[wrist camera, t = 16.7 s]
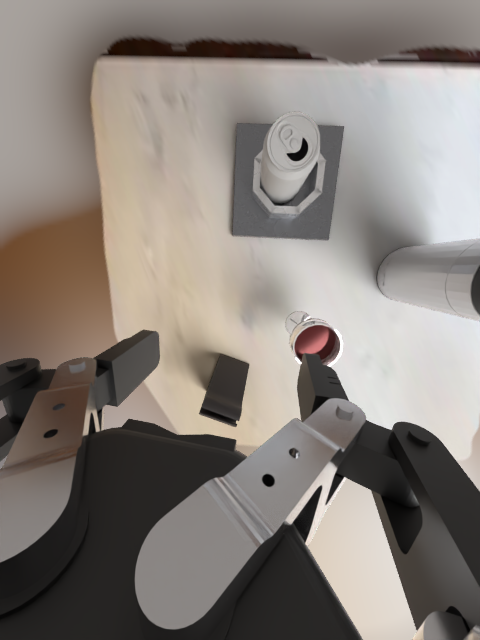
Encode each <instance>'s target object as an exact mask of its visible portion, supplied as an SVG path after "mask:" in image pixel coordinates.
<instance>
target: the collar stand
mask: <svg viewBox="0 0 480 640" xmlns="http://www.w3.org/2000/svg"><path fill="white" fill-rule="evenodd" d="M272 125H273V124H243V123H237V136H236V161H235V187H234V212H233V236H241V237H262V238H284V239H305V240H329V233H330V226H331V219H332V211H333V204H334V197H335V189H336V182H337V175H338V168H339V160H340V153H341V146H342V138H343V131H344V126H318V129H319V133H320V153H319V157H318V159H317V162H316V164H315V165H314V167H313V169H312V170H311V172H310V173H309V175H308V177H307V178H306V180H305V181H304V183H303V185H302V186H301V188H300V189H299V191H298V193H297V194H296V195H295V196H294V198H292V199H291V200H290V201H288V202H285V203H274V202H271V201H270V199H269V198H268V197H267V196H266V194H265V193H264V192H263V191H262V190H261V187H260V176H261V164H262V154H263V144H264V140H265V137H266V134H267V132H268V131H269V129H270V128H271V126H272Z"/></svg>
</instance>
